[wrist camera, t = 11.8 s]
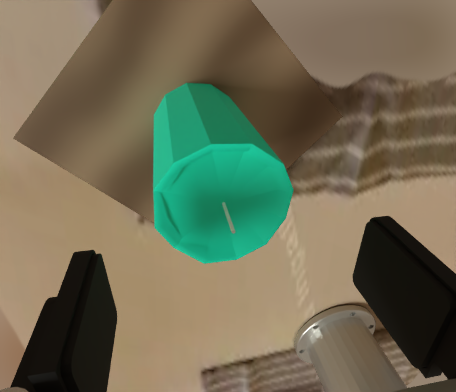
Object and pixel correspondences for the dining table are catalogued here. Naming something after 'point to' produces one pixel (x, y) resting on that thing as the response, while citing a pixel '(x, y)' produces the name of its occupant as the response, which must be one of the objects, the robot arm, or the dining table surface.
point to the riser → (166, 82)
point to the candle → (214, 177)
